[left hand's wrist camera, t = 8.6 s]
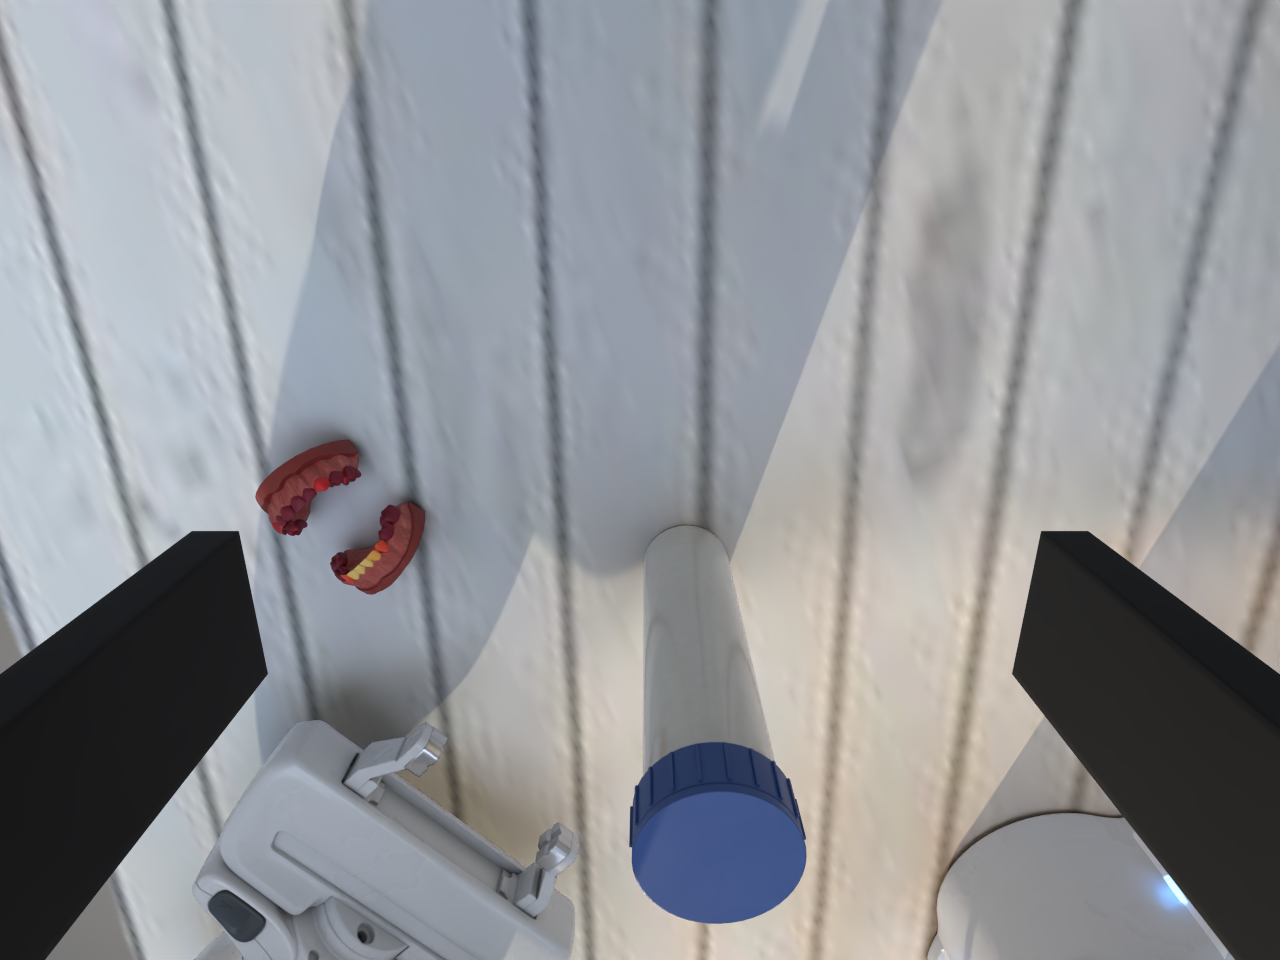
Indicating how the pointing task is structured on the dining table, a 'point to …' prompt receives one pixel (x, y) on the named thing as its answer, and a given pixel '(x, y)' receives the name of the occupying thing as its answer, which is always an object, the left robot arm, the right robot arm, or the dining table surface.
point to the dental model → (317, 471)
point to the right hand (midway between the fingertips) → (503, 789)
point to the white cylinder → (695, 650)
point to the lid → (716, 833)
